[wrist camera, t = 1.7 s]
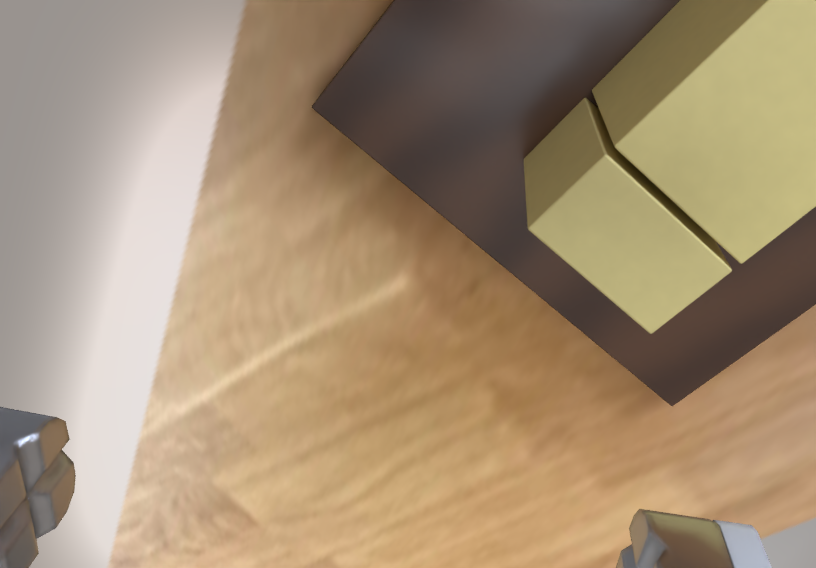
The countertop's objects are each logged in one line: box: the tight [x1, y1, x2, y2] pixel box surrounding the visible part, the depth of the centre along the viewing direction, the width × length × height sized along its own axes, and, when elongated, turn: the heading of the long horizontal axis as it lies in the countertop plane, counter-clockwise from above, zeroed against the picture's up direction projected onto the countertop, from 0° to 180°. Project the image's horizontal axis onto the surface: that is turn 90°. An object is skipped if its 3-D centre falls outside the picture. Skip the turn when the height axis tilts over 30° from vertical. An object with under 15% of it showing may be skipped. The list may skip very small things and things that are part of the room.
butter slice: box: [524, 98, 732, 334], centre depth 27 cm, size 6×4×7 cm, turn 50°
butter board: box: [312, 0, 816, 406], centre depth 30 cm, size 22×16×1 cm
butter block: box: [592, 0, 816, 264], centre depth 25 cm, size 6×8×7 cm
